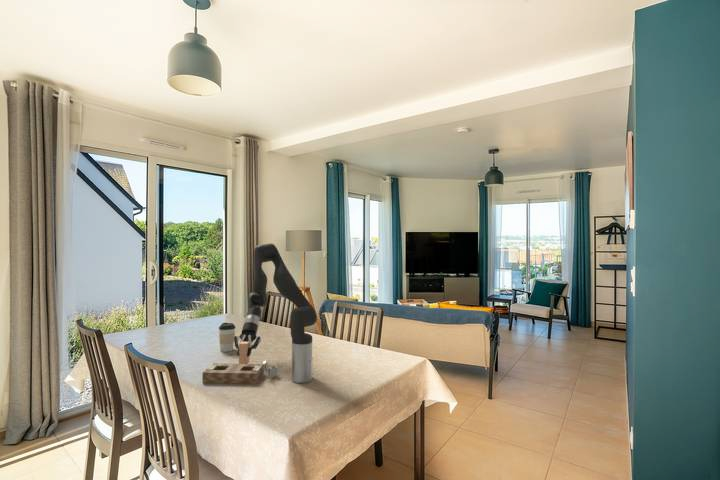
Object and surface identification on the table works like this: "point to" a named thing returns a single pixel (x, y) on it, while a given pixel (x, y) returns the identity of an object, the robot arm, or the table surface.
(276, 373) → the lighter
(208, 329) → the table surface
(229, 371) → the slot holder
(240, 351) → the peg
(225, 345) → the coffee cup
